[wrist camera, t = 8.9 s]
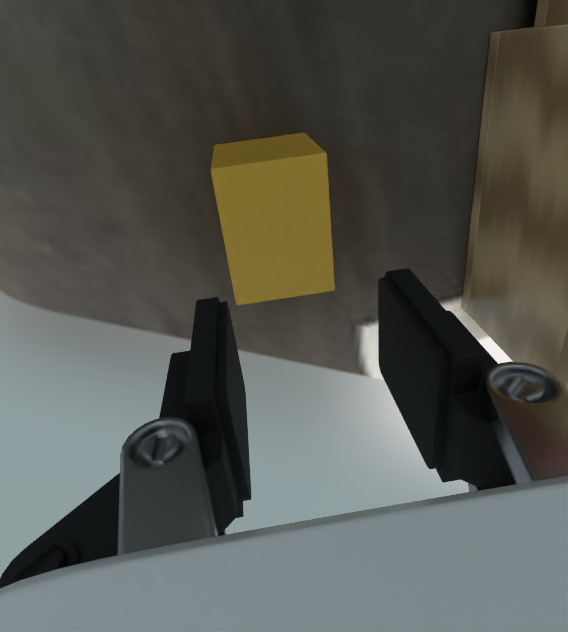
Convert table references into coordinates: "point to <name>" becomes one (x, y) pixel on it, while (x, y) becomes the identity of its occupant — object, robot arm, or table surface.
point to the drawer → (551, 13)
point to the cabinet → (523, 200)
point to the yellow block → (275, 216)
